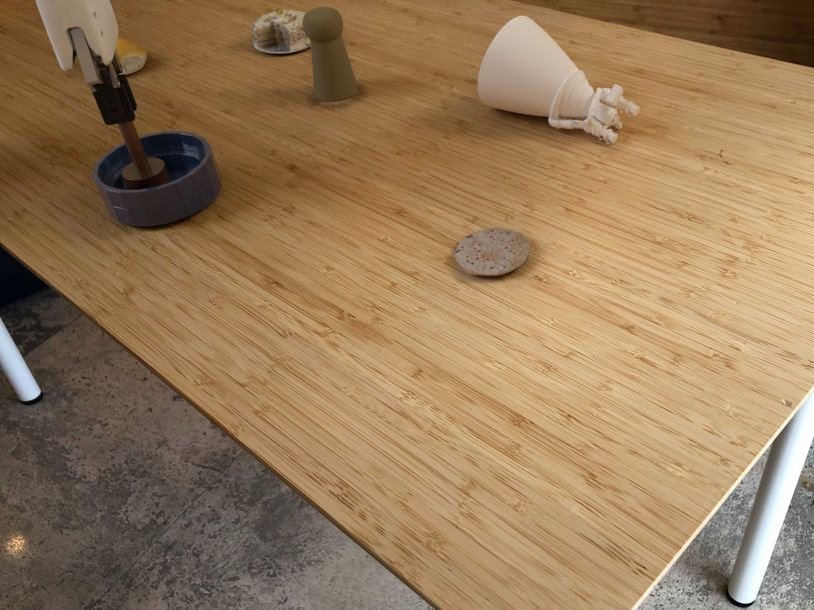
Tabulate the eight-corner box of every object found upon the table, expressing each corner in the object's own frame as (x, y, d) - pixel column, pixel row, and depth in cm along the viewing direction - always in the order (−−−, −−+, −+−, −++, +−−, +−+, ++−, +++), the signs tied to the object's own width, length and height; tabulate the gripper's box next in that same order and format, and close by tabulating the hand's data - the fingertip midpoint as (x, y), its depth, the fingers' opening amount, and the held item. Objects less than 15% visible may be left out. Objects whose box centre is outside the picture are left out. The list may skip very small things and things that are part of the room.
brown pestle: (129, 205, 96) (77, 81, 86) (132, 183, 100) (82, 61, 89) (171, 198, 97) (125, 73, 86) (173, 176, 100) (128, 54, 90)
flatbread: (475, 226, 90) (474, 218, 89) (542, 240, 87) (541, 232, 86) (441, 271, 85) (440, 263, 84) (510, 288, 82) (510, 280, 81)
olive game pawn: (306, 99, 115) (288, 18, 107) (326, 79, 119) (310, 0, 111) (346, 103, 113) (330, 21, 106) (365, 82, 117) (351, 2, 110)
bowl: (103, 239, 94) (85, 201, 91) (114, 178, 104) (99, 142, 100) (222, 218, 95) (209, 179, 92) (223, 159, 105) (211, 123, 101)
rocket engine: (648, 62, 93) (518, -3, 99) (590, 153, 94) (465, 83, 101) (661, 101, 104) (543, 41, 110) (609, 182, 105) (495, 118, 111)
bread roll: (128, 50, 132) (119, 24, 129) (156, 65, 127) (147, 39, 124) (79, 69, 128) (68, 43, 125) (106, 85, 123) (96, 59, 120)
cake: (267, 32, 134) (260, -4, 131) (327, 33, 132) (322, -3, 129) (242, 54, 126) (234, 18, 123) (305, 56, 125) (299, 19, 121)
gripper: (24, -82, 85) (94, 91, 97) (-6, -29, 73) (78, 159, 86) (101, -93, 85) (161, 80, 98) (82, -42, 74) (153, 146, 87)
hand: (121, 115), depth 92 cm, fingers closed on brown pestle
